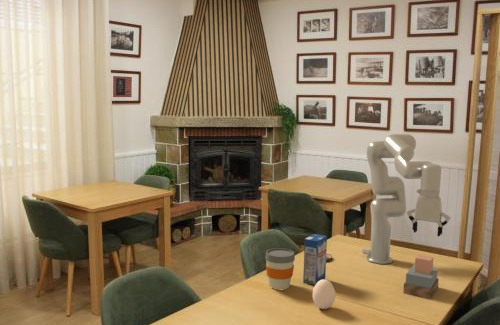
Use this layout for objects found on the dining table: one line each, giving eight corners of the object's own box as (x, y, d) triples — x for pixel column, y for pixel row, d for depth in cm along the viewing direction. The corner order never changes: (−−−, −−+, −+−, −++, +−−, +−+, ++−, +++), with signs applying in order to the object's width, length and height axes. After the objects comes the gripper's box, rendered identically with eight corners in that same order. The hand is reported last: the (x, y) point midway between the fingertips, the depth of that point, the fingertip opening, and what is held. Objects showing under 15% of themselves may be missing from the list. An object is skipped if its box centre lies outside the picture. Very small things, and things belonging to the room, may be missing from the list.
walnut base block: (403, 294, 205) (403, 283, 204) (412, 283, 218) (412, 273, 217) (430, 300, 199) (431, 289, 199) (437, 288, 212) (438, 278, 211)
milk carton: (316, 286, 211) (317, 241, 208) (303, 283, 214) (304, 238, 212) (325, 279, 219) (327, 235, 217) (312, 276, 223) (314, 233, 220)
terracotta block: (414, 271, 206) (415, 257, 205) (418, 267, 211) (419, 254, 210) (429, 274, 203) (430, 260, 202) (432, 270, 208) (433, 256, 207)
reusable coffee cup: (297, 283, 213) (298, 250, 211) (287, 293, 202) (288, 258, 200) (271, 278, 219) (272, 246, 217) (260, 288, 207) (260, 254, 205)
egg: (319, 314, 183) (320, 285, 182) (307, 305, 191) (308, 277, 189) (339, 310, 186) (340, 282, 185) (326, 302, 194) (327, 274, 193)
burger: (333, 263, 242) (333, 248, 241) (309, 262, 242) (309, 248, 241) (329, 255, 254) (330, 241, 253) (306, 255, 254) (307, 241, 253)
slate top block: (405, 283, 204) (406, 273, 204) (413, 273, 216) (413, 264, 216) (430, 289, 199) (431, 278, 199) (437, 278, 211) (437, 268, 211)
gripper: (406, 192, 204) (403, 232, 207) (450, 197, 195) (446, 239, 197) (410, 189, 210) (408, 228, 213) (453, 194, 201) (450, 235, 204)
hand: (426, 233), depth 205 cm, fingers open, 9 cm apart
